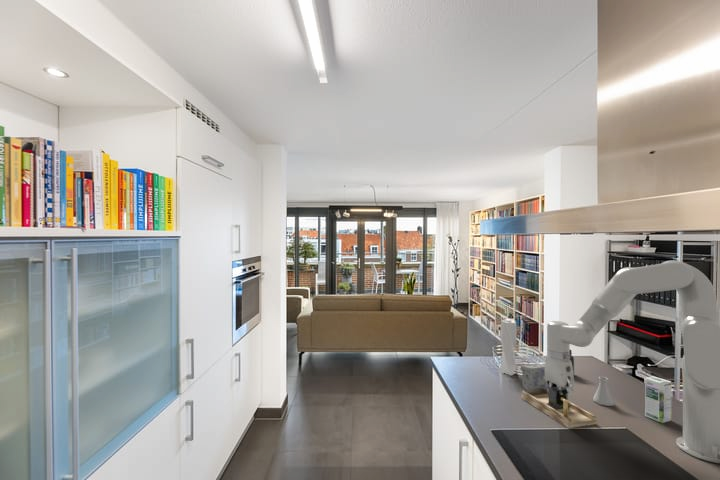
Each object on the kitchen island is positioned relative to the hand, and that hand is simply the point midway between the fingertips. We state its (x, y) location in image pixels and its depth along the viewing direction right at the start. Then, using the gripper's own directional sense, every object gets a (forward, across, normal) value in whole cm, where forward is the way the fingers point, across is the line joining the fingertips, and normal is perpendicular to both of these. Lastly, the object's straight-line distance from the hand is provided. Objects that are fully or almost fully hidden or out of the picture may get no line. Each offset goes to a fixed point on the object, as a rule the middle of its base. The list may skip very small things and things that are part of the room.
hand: (558, 401), depth 134 cm
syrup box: (+4, -13, -32) cm, 35 cm away
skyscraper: (+4, +39, -7) cm, 40 cm away
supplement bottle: (+4, +31, -34) cm, 46 cm away
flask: (+4, +2, -24) cm, 24 cm away
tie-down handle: (+2, 0, 0) cm, 2 cm away
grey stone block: (+4, +20, -7) cm, 22 cm away
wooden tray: (+4, +1, 0) cm, 4 cm away
